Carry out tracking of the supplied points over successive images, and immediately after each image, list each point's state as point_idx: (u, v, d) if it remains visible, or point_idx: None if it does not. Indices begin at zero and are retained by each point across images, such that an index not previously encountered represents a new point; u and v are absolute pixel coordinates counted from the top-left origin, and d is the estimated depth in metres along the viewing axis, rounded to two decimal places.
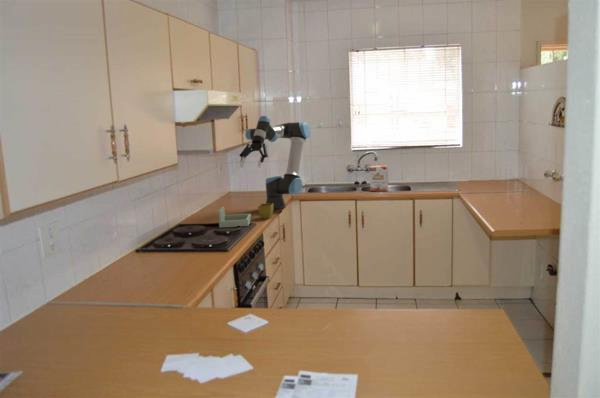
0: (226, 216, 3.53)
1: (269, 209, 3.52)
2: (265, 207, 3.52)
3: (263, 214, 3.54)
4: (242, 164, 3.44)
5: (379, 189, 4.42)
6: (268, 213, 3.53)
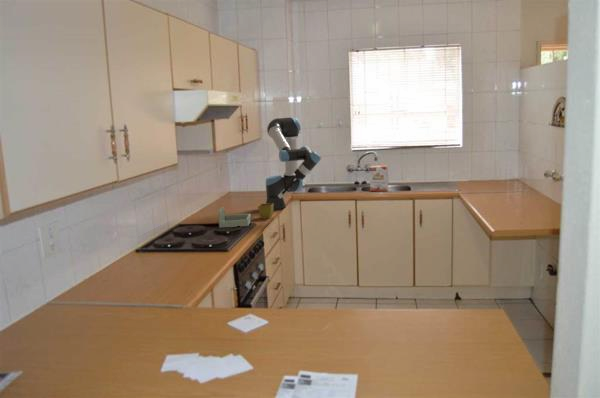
0: (226, 216, 3.53)
1: (269, 209, 3.52)
2: (265, 207, 3.52)
3: (263, 214, 3.54)
4: None
5: (379, 189, 4.42)
6: (268, 213, 3.53)
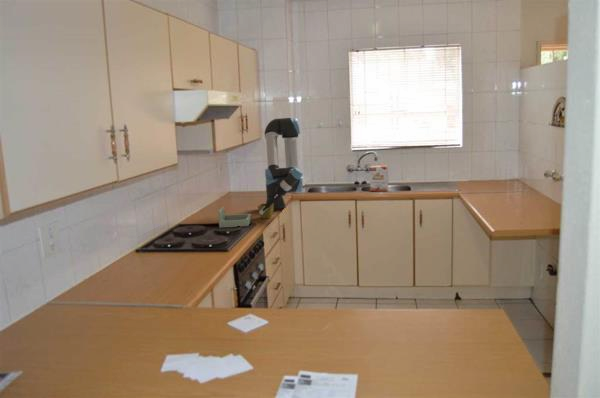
0: (226, 216, 3.53)
1: (269, 209, 3.52)
2: None
3: (263, 214, 3.54)
4: None
5: (379, 189, 4.42)
6: (268, 213, 3.53)
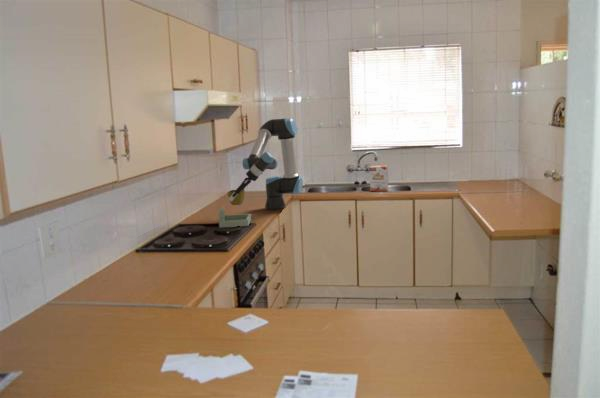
0: (226, 216, 3.53)
1: (239, 195, 3.38)
2: None
3: (233, 200, 3.39)
4: None
5: (379, 189, 4.42)
6: (238, 199, 3.38)
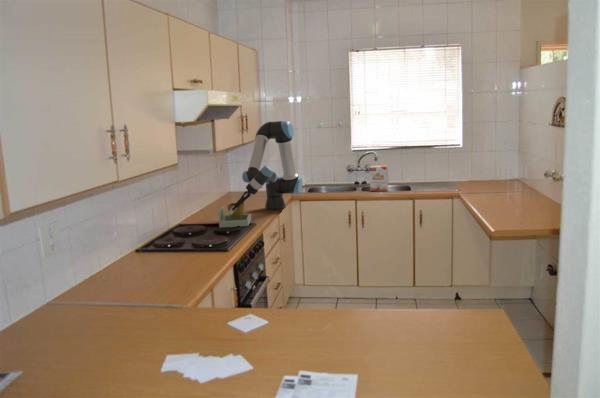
0: (226, 216, 3.53)
1: (239, 208, 3.39)
2: None
3: (233, 214, 3.41)
4: None
5: (379, 189, 4.42)
6: (238, 213, 3.40)
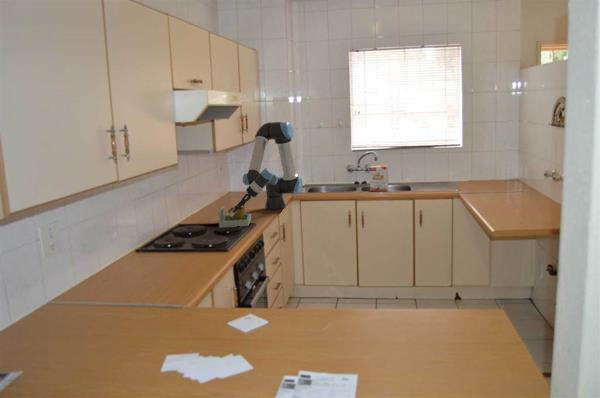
0: (226, 216, 3.53)
1: (240, 213, 3.39)
2: None
3: (234, 218, 3.41)
4: None
5: (379, 189, 4.42)
6: (239, 217, 3.40)
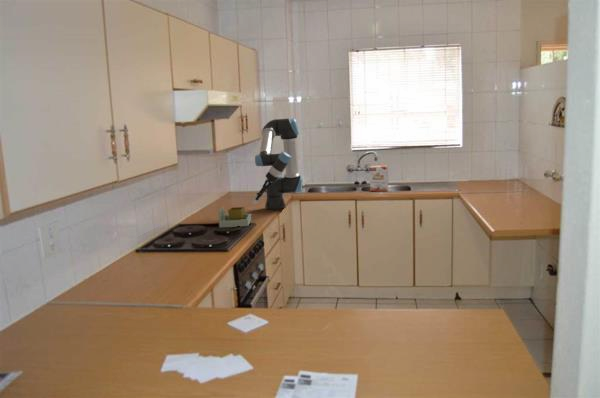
0: (226, 216, 3.53)
1: (240, 213, 3.39)
2: (236, 211, 3.39)
3: (234, 218, 3.41)
4: None
5: (379, 189, 4.42)
6: (239, 217, 3.40)
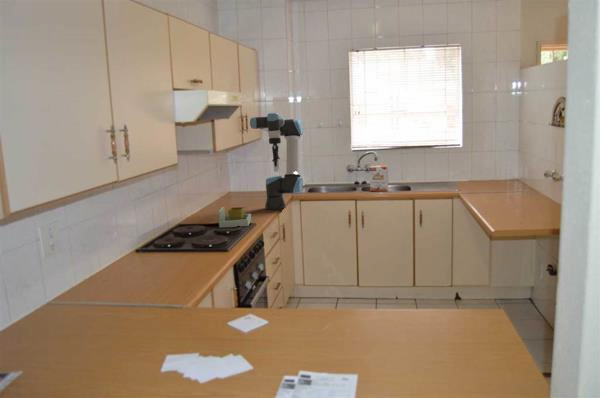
0: (226, 216, 3.53)
1: (240, 213, 3.39)
2: (236, 211, 3.39)
3: (234, 218, 3.41)
4: None
5: (379, 189, 4.42)
6: (239, 217, 3.40)
